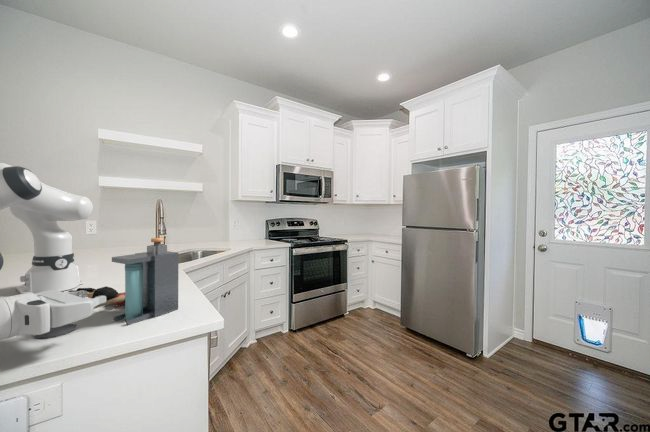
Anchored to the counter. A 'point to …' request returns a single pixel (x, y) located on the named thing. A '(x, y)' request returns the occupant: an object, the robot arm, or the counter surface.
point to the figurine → (110, 294)
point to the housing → (155, 281)
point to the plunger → (157, 241)
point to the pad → (57, 331)
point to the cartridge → (133, 290)
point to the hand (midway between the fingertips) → (95, 295)
